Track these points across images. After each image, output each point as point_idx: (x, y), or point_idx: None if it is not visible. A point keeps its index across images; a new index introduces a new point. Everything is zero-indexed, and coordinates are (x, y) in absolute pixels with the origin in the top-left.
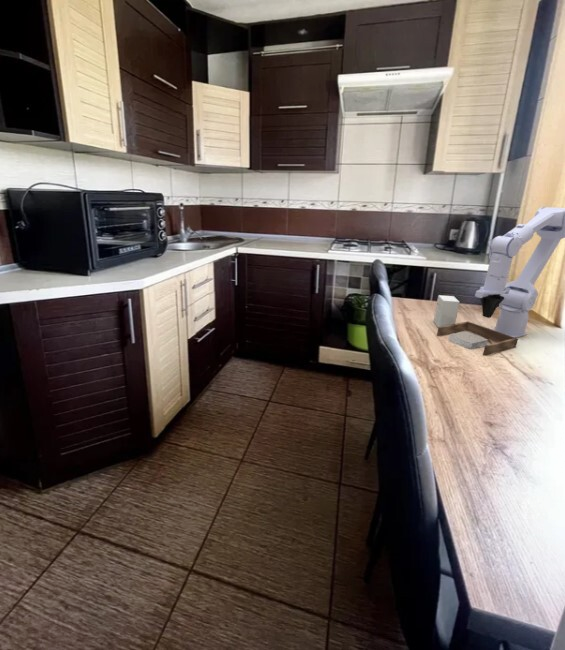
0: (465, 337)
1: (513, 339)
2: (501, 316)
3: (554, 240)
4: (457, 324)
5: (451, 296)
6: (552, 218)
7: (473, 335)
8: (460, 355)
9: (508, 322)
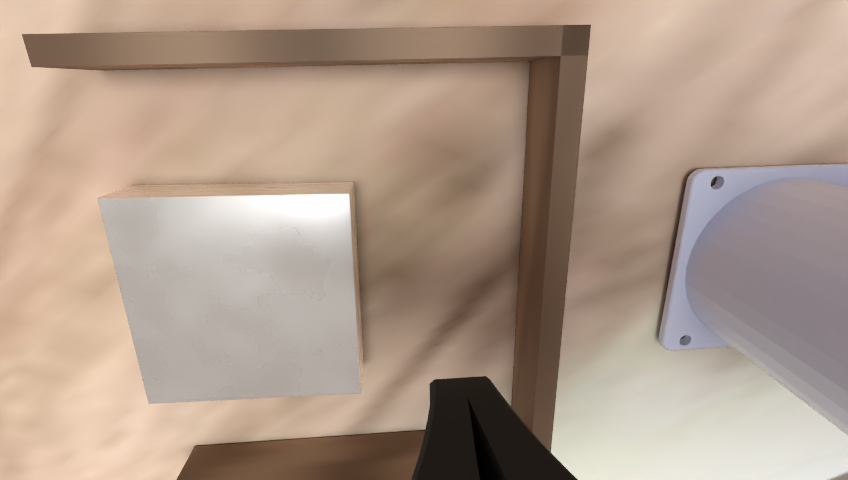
0: (204, 299)
1: None
2: (837, 304)
3: None
4: (357, 57)
5: None
6: None
7: (323, 290)
8: (20, 410)
9: (775, 360)
